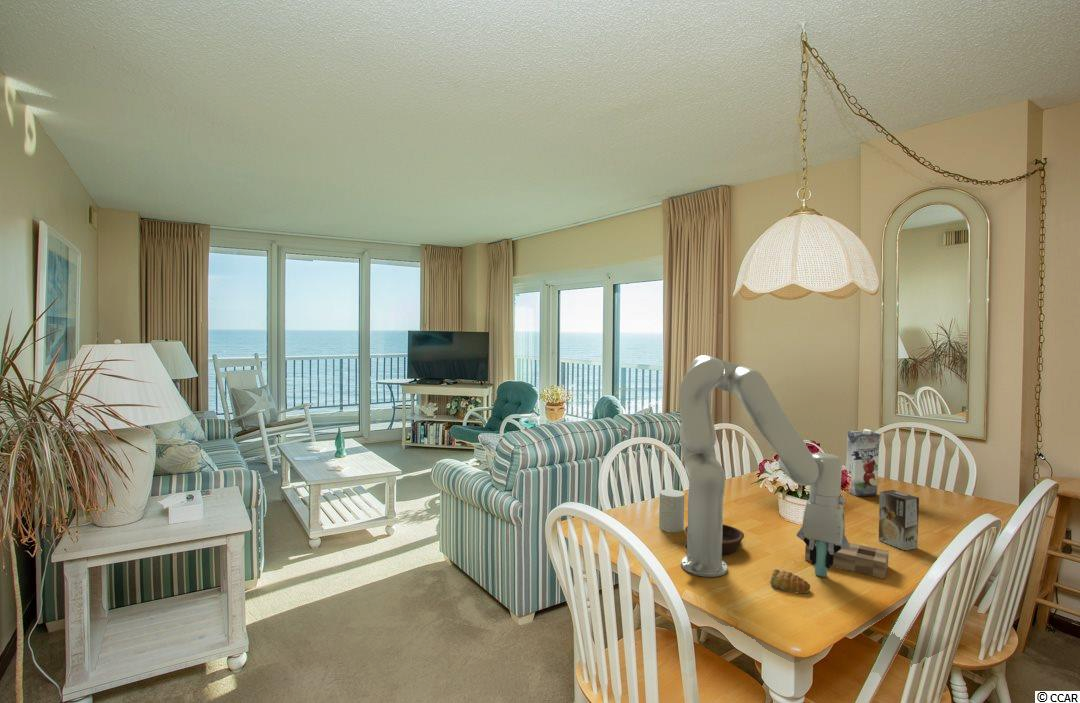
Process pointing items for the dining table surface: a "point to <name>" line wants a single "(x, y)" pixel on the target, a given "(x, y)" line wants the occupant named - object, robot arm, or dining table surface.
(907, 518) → the coffee box
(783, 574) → the pastry
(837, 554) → the hole block
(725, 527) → the dish
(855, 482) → the juice carton
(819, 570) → the peg
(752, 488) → the dining table surface
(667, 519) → the grey cylinder
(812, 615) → the dining table surface
